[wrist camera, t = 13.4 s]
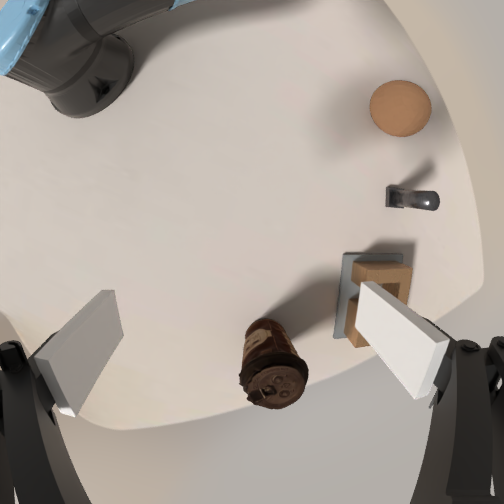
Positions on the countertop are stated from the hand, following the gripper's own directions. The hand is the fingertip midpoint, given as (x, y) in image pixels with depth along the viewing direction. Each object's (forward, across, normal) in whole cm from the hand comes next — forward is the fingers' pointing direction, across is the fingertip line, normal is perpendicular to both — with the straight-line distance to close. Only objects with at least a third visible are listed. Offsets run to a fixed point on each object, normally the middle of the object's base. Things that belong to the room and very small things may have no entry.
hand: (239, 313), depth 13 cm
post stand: (+24, +25, +5) cm, 35 cm away
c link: (+24, +21, -11) cm, 34 cm away
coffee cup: (+24, +4, -16) cm, 30 cm away
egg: (+25, +23, +18) cm, 39 cm away
